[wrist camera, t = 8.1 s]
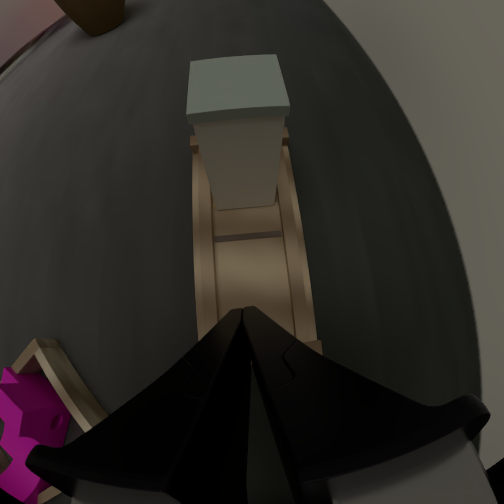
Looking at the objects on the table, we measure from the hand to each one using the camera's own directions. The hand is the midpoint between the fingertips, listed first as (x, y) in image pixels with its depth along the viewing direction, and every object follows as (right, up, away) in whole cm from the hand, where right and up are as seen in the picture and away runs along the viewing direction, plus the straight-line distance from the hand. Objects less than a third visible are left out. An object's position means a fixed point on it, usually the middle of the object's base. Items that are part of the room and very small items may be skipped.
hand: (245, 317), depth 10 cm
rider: (0, +8, +15) cm, 17 cm away
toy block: (-22, -17, +9) cm, 29 cm away
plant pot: (-29, +47, +29) cm, 63 cm away
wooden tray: (0, +3, +15) cm, 15 cm away
